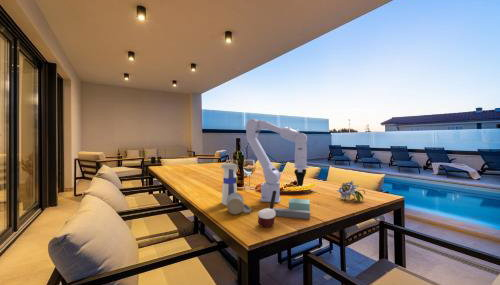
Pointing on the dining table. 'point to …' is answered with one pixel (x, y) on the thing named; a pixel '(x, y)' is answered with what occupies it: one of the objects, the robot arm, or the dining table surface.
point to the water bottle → (229, 181)
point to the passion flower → (350, 191)
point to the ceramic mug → (236, 204)
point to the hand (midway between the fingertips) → (300, 184)
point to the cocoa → (267, 214)
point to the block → (299, 204)
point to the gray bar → (292, 213)
